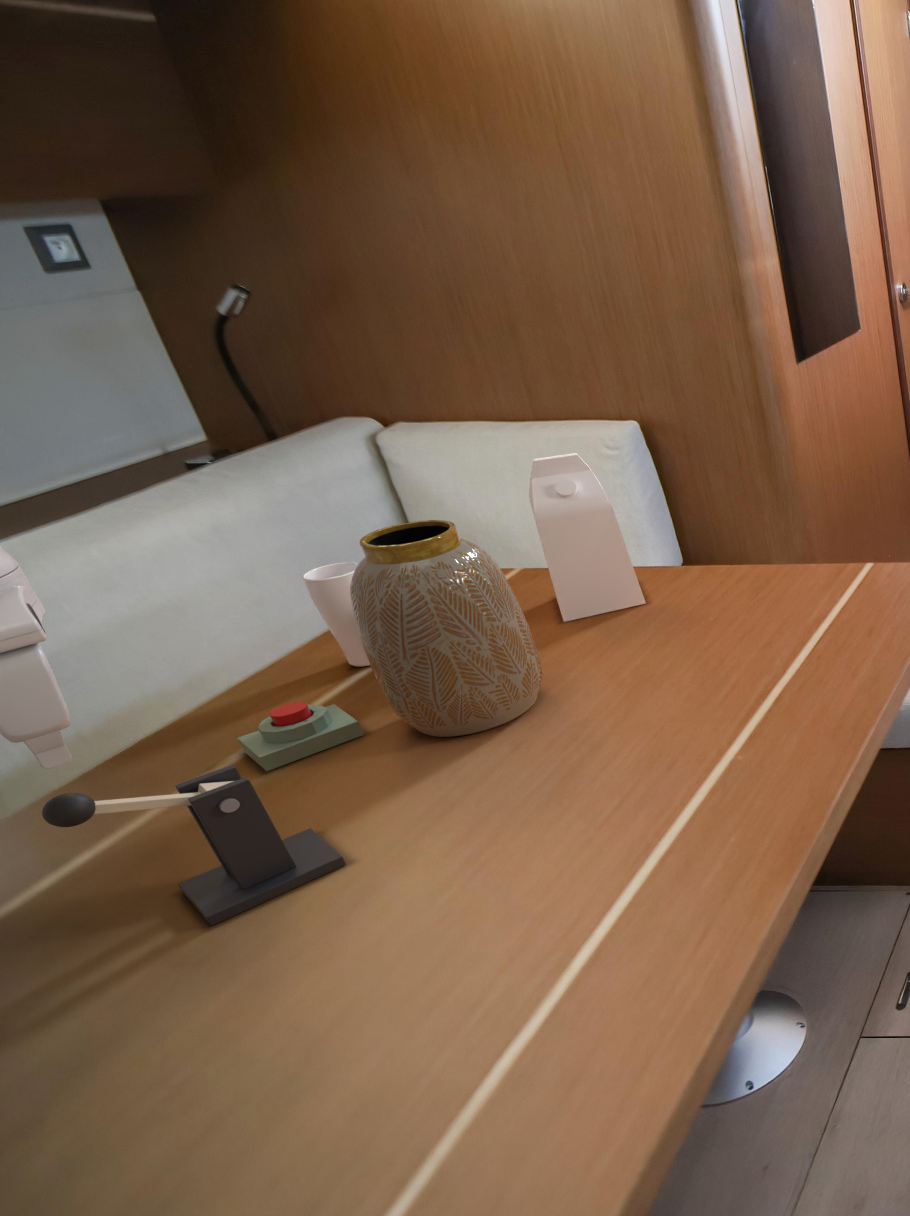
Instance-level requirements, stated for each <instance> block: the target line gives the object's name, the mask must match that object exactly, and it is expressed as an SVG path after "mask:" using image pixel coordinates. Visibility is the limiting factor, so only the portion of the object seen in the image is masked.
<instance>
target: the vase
mask: <svg viewBox="0 0 910 1216" xmlns="http://www.w3.org/2000/svg"><path fill="white" fill-rule="evenodd" d="M359 546H360V548H361V550H362V552H363V554H364V557H363V558H362V560H360V561H359V562H358V563H359V564H358V566H357V567H356V569H355V571H354V574H353V576H352V580H351V586H350V596H351V603H352V609H353V613H354V618H355V622H356V626H357V629H358V632H359V635H360V638H361V641H362V644H363V647H364V650H365V652H366V655H367V658H368V660H369V663H370V668H371V670H372V673H373V675H374V677H375V680H376V681H377V683H378V685H379V688H380V690H381V692H382V694H383V696H384V698H385V700H386V702H387V704H388V705H389V707H390V708H391V710H392V711H393V712H394V713H395V714H396V716H398V717H399V718H400V719H401V720H402V721H403V722H405V723H406V724H407V725H408V726H410V727H411V728H413V729H415V730H417V731H419V733H421V734H424V735H426V736H427V735H428V736H431V737H441V738H443V737H445V738H450V737H458V736H459V737H460V736H465V735H472V734H477V733H480V732H485V731H488V730H490V729H494V728H496V727H498V726H501V725H504V724H506V723H508V722H512V721H513V720H514V719H517V718H518V717H521V716H522V715H523V714H524V713H526V712H527V711H528V710H529V709H531V707H532V706H533V705H534V704H535V702H536V701H537V698H538V696H539V695H538V694H539V691H540V688H541V684H542V678H543V670H542V663H541V659H540V655H539V652H538V648H537V645H536V643H535V638H534V637H533V634H532V631H531V628H530V625H529V623H528V621H527V619H526V616H525V614H524V611H523V609H522V607H521V605H520V602H519V600H518V598H517V596H516V594H515V592H514V589H513V588H512V586H511V584H510V582H509V580H508V579H507V577H506V576H505V574H504V572H503V571H502V569H501V567H500V566H499V564H498V563H497V562H496V561H495V559H494V558H493V556H491V555H490V554H489V553H488V552H487V551H486V550H484V549H483V548H482V547H480V546H479V545H477V544H475V543H473V542H471V541H469V540H467V539H464V538H461V537H460V534H459V531H458V528H457V526H456V524H455V523H454V522H452V521H449V520H442V519H426V520H415V521H407V522H403V523H398V524H393V525H390V526H386V527H382V528H380V529H376V530H374V531H372V532H369V533H367V534H365V535H364V536H362V537H361V538H360V539H359Z"/></svg>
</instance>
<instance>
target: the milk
mask: <svg viewBox="0 0 910 1216" xmlns="http://www.w3.org/2000/svg"><path fill="white" fill-rule="evenodd" d="M528 491H529V492H528V497H529V498H528V499H529V503H530V507H531V511H532V514H533V518H534V520H535V525H536V528H537V533H538V536H539V541H540V543H541V548H542V551H543V554H544V558H545V561H546V565H547V569H548V573H549V576H550V579H551V580H550V581H551V584H552V587H553V590H554V595H555V598H556V602H557V604H558V605H557V606H558V608H559V610H560V615H561V618H562V621H563V623H566V622H570V621H575V620H579V619H583V618H588V617H593V616H596V615H601V614H605V613H610V612H615V611H618V610H624V609H628V608H632V607H636V606H640V605H645V604H647V602H646V600H645V596H644V594H643V591H642V589H641V585H640V583H639V580H638V576H637V573H636V571H635V569H634V566H633V561H632V560H631V556H630V554H629V550H628V548H627V545H626V543H625V542H626V541H625V539H624V536H623V534H622V530H621V527H620V525H619V521H618V519H617V516H616V514H615V512H614V508H613V505H612V503H611V501H610V499H609V497H608V495H607V493H606V492H605V489H604V488H603V486H602V484H601V482H600V480H599V479H598V477H597V476H596V474H595V473H594V471H593V470H592V468H590V466H589V465H588V464H587V463H586V462H585V460H583V458H582V457H581V456H580V455H579V454H578V453H577V452H573V453H566V454H559V455H552V456H551V455H550V456H544V457H538V458H537V457H536V458H533V460H532V466H531V472H530V479H529V490H528Z"/></svg>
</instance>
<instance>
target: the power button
mask: <svg viewBox="0 0 910 1216" xmlns="http://www.w3.org/2000/svg"><path fill="white" fill-rule="evenodd" d="M307 705H308V704H307V703H306V702H304V701H295V702H290V703H285V704H283V705H279V706H277V707H275V708H274V709H272V710H271V711H269V717H271V719H272V721H273V723H274V725H275V726H276V727H284V726H289V725H294V724H297V723H299V722H302V721H305V720H306V719H308V718H310V717H311V716H312V714H311V712H310V710H309V708H308V706H307Z"/></svg>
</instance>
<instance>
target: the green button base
mask: <svg viewBox="0 0 910 1216" xmlns="http://www.w3.org/2000/svg"><path fill="white" fill-rule="evenodd" d="M307 706H308V708H309V710H310V712H311V714H312V716H311V717H310V718H308V719H306V720H305V721H302V722H299V723H297V724H294V725H289V726H284V727H276V726H275V725H274V723H273V721H272V719H271V717H270V716H268V717H266V718H264V719H262V720H261V721H260V723H259V724H258V726H257V730H255V731H253V732H250V733H247V734H244V735H242V736H239V737H236V739H237V741H238V744H239V745H240V747H241V749H242V750H243V753H245V754H246V755H247V756H248V757H250V758H251V760H253V761H254V762H255V763H256V764H257V765H259V767H261V768H262V769H263V770H264V771H265V772H269V771H272V770H275V769H278V768H280V767H282V766H286V765H287V764H291V763H293V762H296V761H299V760H301V759H305V758H307V757H309V756H312V755H314V754H317V753H320V752H322V751H325V750H328V749H330V748H333V747H335V746H339V745H341V744H344V743H346V742H349V741H351V740H354V739H357V738H359V737H362V736H365V733H364V731H363V729H362V727H361V725H360V722H359V721H358V720H357V719H355V718H354V717H353V716H351V715H350V714H349V713H347V712H346V711H344V710H343V709H342V708H340V707H339V706H338V705H336V704H335V703H332V704H330V705H327V706H324V705H322V704H307Z"/></svg>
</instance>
